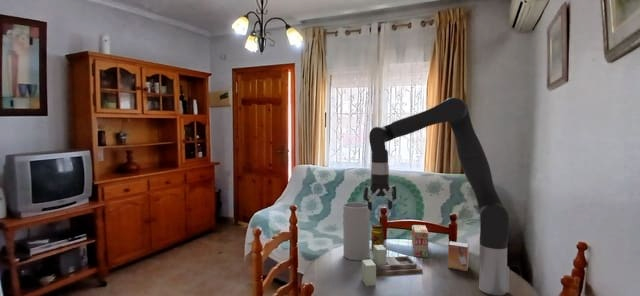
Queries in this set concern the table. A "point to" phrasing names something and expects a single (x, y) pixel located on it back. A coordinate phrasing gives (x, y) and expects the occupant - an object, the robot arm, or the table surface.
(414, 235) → the stack of blocks
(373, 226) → the condiment
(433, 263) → the table surface
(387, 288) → the table surface
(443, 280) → the table surface
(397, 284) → the table surface
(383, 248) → the block
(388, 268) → the tray
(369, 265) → the loose block
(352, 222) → the cylinder vase
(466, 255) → the small box
